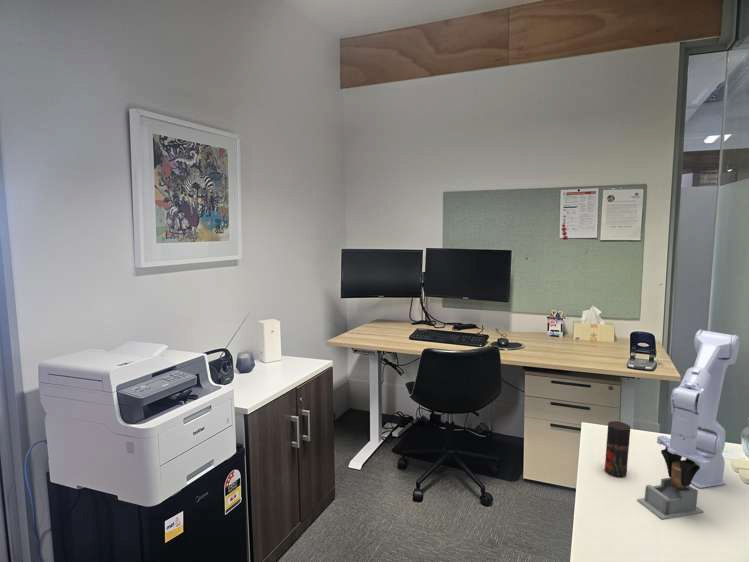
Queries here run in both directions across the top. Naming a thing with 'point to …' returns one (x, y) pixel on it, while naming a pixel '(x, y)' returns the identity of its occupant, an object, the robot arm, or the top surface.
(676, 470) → the dowel
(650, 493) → the socket
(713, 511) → the top surface
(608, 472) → the deodorant
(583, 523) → the top surface
